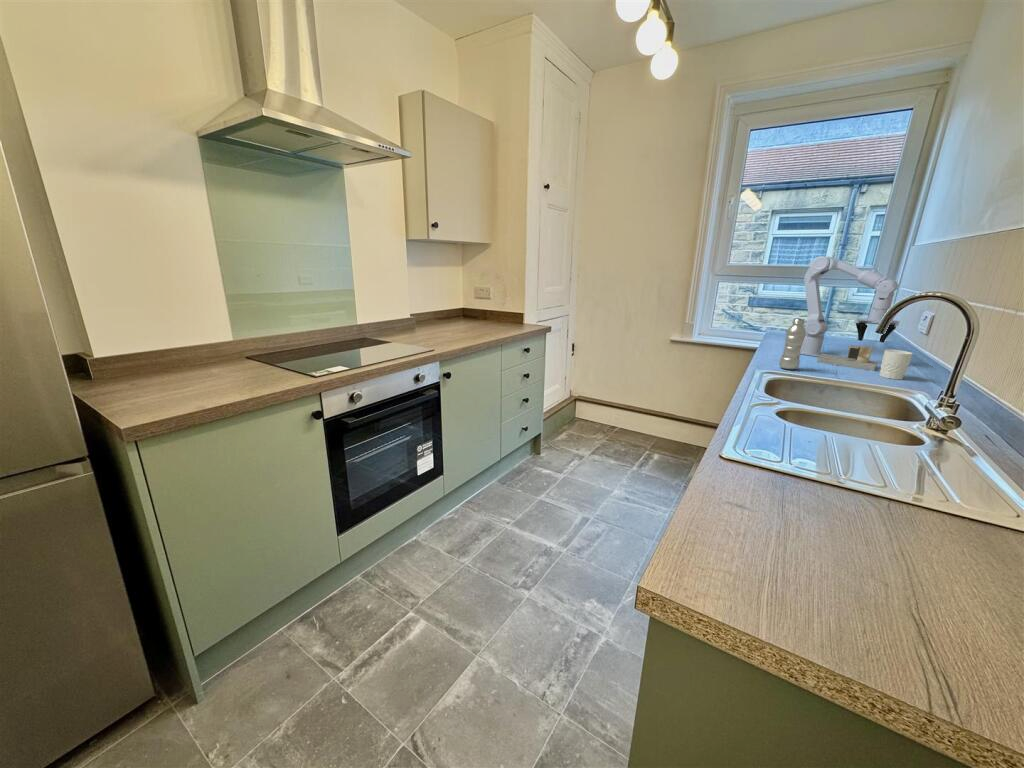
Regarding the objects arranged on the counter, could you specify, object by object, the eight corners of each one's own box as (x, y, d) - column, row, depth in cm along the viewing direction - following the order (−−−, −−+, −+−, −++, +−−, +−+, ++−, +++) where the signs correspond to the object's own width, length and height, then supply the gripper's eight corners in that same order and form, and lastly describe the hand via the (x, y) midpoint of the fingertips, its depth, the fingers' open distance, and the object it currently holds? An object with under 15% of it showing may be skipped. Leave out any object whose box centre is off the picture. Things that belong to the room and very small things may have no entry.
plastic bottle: (801, 371, 160) (814, 320, 154) (784, 370, 160) (796, 319, 154) (791, 367, 166) (802, 318, 160) (774, 366, 166) (785, 317, 161)
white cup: (872, 375, 157) (880, 350, 154) (883, 373, 160) (891, 348, 157) (898, 381, 150) (906, 354, 147) (909, 379, 154) (917, 353, 151)
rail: (816, 362, 177) (818, 356, 176) (820, 359, 182) (821, 353, 181) (873, 371, 164) (875, 364, 163) (875, 367, 169) (877, 361, 168)
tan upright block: (867, 363, 169) (872, 347, 167) (866, 365, 167) (871, 348, 165) (855, 362, 172) (859, 345, 170) (854, 363, 169) (858, 346, 167)
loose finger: (846, 360, 181) (850, 345, 179) (858, 362, 178) (862, 346, 176) (845, 362, 178) (849, 346, 176) (856, 364, 175) (861, 348, 173)
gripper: (864, 308, 168) (854, 341, 172) (907, 311, 164) (896, 344, 168) (856, 307, 174) (847, 338, 179) (897, 309, 170) (887, 341, 174)
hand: (870, 341), depth 174 cm, fingers open, 7 cm apart
